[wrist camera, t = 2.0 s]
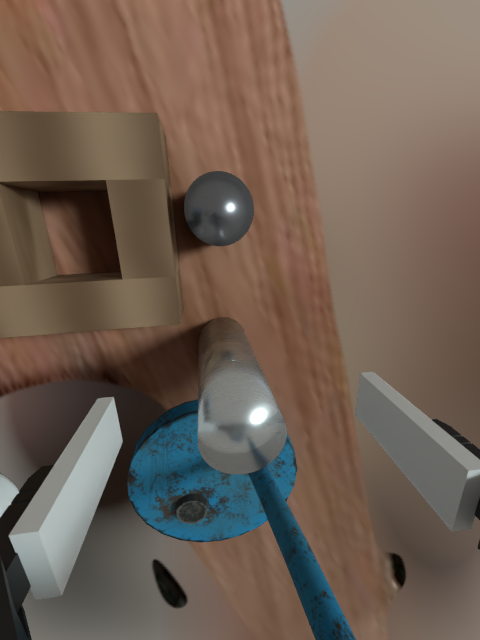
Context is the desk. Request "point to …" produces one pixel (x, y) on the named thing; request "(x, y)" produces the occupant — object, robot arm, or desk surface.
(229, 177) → the stub pin
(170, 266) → the tan square frame
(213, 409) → the tall pin
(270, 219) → the desk surface
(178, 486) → the desk lamp
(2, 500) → the beverage can
